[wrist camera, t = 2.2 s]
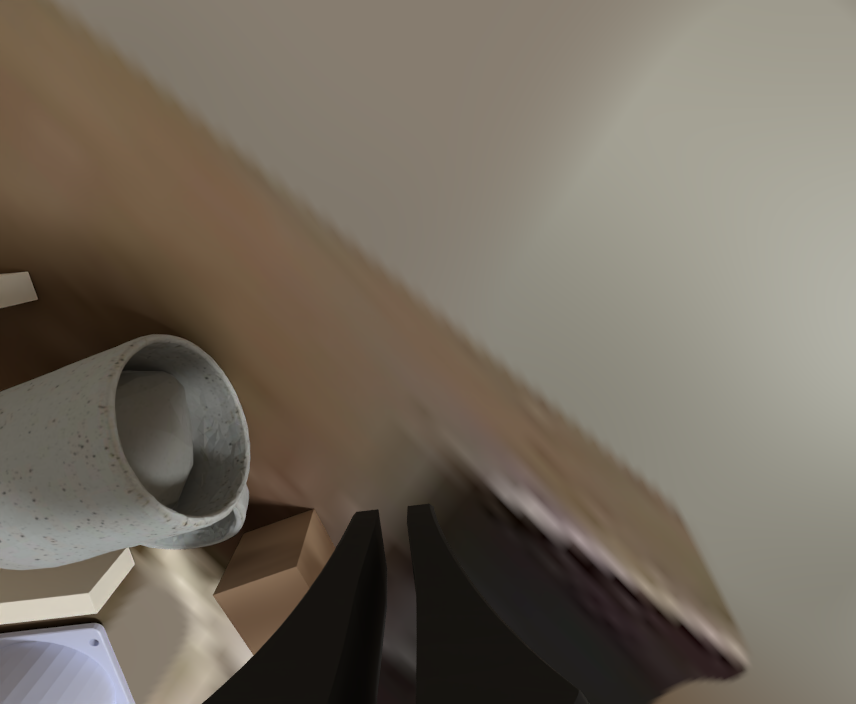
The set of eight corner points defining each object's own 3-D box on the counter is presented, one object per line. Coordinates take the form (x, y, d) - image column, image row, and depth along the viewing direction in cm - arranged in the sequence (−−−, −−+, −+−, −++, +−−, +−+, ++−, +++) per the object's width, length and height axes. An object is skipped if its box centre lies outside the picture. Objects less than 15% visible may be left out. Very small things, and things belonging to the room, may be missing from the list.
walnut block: (345, 564, 24) (334, 630, 20) (278, 587, 24) (254, 657, 21) (314, 507, 23) (296, 566, 19) (244, 532, 23) (213, 595, 19)
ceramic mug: (30, 374, 20) (-182, 472, 13) (193, 310, 19) (70, 373, 12) (156, 548, 23) (46, 703, 16) (298, 497, 23) (251, 633, 16)
